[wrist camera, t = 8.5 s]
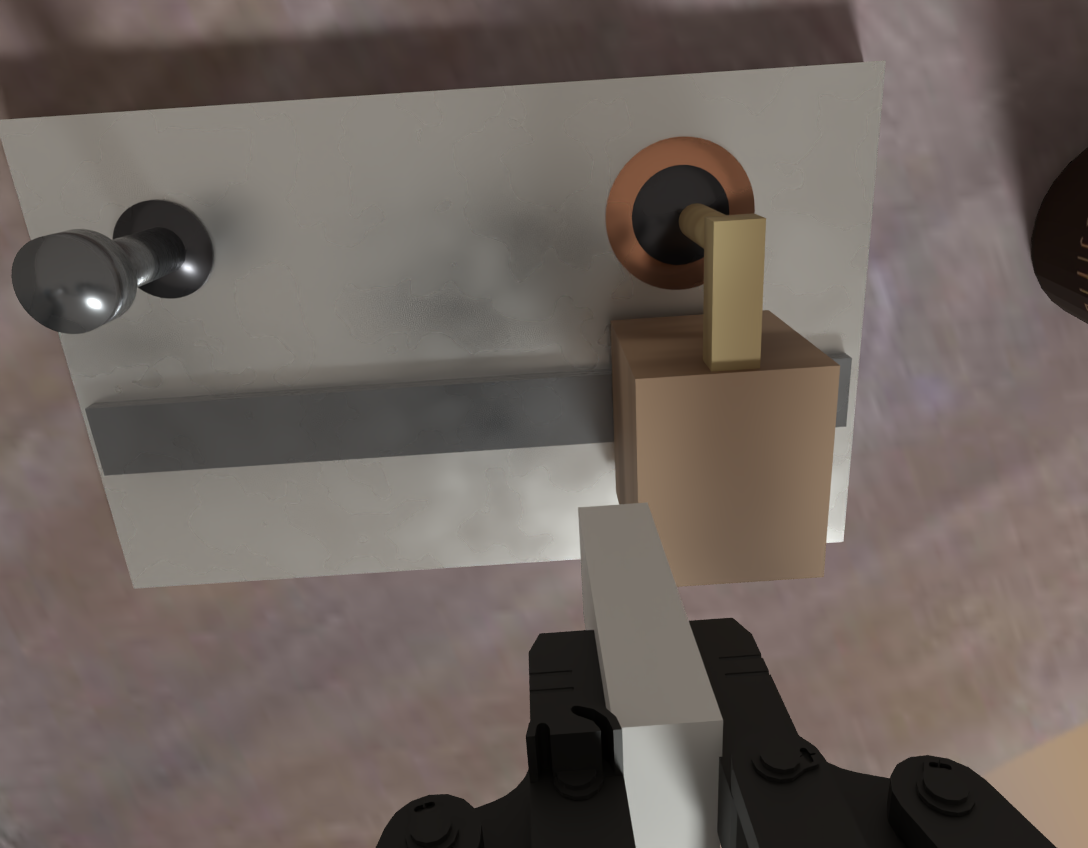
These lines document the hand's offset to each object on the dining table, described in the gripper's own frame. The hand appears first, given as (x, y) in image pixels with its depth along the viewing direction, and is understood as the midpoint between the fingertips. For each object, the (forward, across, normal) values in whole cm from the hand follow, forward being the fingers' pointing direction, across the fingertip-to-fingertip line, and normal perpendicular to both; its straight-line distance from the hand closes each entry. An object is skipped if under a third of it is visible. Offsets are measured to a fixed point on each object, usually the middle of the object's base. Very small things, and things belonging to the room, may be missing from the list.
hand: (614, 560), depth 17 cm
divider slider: (+9, +4, +2) cm, 10 cm away
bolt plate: (+12, -4, +2) cm, 12 cm away
